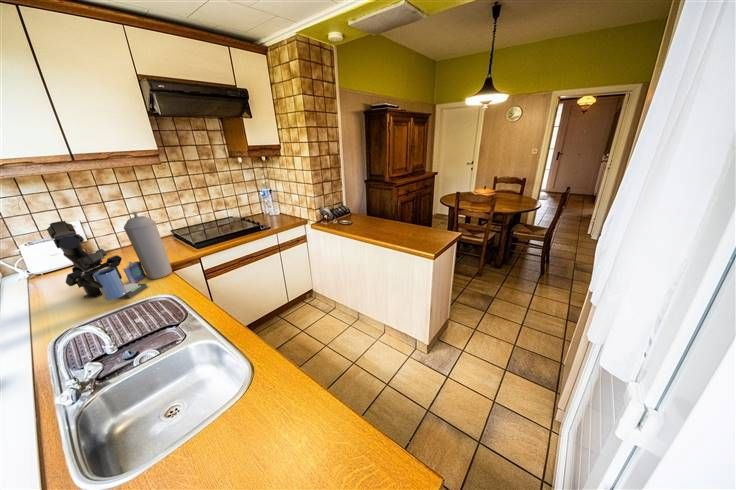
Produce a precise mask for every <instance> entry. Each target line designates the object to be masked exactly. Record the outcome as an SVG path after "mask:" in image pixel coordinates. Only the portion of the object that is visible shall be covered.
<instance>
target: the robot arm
mask: <svg viewBox="0 0 736 490" xmlns="http://www.w3.org/2000/svg"><path fill="white" fill-rule="evenodd" d="M46 231H47V233H48V235H49V237H50V238H51V240H52V241H53V243H54V245H55V246H56V248H57V249H60V250H61V251H62V252H63V254H62V255H63V256H64V257H65V258H66V259H67V260H69V261H70V262H72V264H73V265H74V266H73V267H72V269H71V271H72V272H70V273H68V274H67V275H66V277H65V283H66V285H68V286H69V287H73V286H75V285H77V287H78V288H79V289H80V288H83V290H84V292H85V295H83V298H97V297H98V296H100V295H103V294H102V292H101V290H100V289H99V288H103V286H102V285H101V284H99V283H98V282H97V281H95V279H94V277H93V276H92V275H93V274H94V273H95V272H97V271H100V270H102V269H106V268H115V269H116V271H117V273H118V275H119V277H120V279H121V280H122V279H123V276H122V275H121V273H120V270H119V269H118V268H119V266H120V264H121V262H122V259H123V258H122V257H121V256H120V255H119V254H117V255H112V256H110V257H107V258H106V256H107V255H108V253H107V252H106V251H105V250H104V249H103V248H100V249H97V250H95V252H93V253H88V252H87V251H85V250H84V247H83V245H82V243H84V241H85V239H84V237H83V235H80V234H79V233H78V234H77V232H76V229H75V227H74V226H73V224H72V223H68V222H66V220H60V221H54V222H51V223H49V226H48V227H46ZM105 258H106V261H105V262H103V259H105Z"/></svg>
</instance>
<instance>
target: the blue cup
mask: <svg viewBox="0 0 736 490" xmlns="http://www.w3.org/2000/svg"><path fill="white" fill-rule="evenodd" d="M92 276H93V277H94V279H95V281H97V282H98V283H99V284H101V285H102V286H103V288H99V289H100V290H101V292H102V294H101V295H102V297H103V298H104V299H105V300H106V301H112V300H116V299H120V298H119V297H122V296H123V295H125V294H126V293H127V292H126V289H125V287H124V285H125V284H124V283H123V281H122V279H120V277H119V275H118V273H117V271H116V269H115V268H107V267H106V268H103V269H101V270H99V271H97V272H95V273H94V274H93V275H92Z"/></svg>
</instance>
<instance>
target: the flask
mask: <svg viewBox="0 0 736 490" xmlns="http://www.w3.org/2000/svg"><path fill="white" fill-rule="evenodd" d="M127 264H128V265H127V266H125V267H124V268H123V272H124V274H125V276H126V278H127V280H128V282H129V283H128V284H131V283H138V282H140V281H141V280H142V279H144V278H146V277H147V275H146V273H145V271H144V269H143V267H142V265H141V263H140V261H139V260H135V261H134V262H132V261H127Z"/></svg>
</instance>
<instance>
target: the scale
mask: <svg viewBox="0 0 736 490" xmlns="http://www.w3.org/2000/svg"><path fill="white" fill-rule="evenodd" d="M123 285H124V287H125V289H126V292H127V293H126V294H125V295H123V296H122V297H119V298H118V299H132V298H134V297H135V296H137V295H138V294H139V293H141V292H143V291H145V290H146V289H147V288H148V285H147V283H138V282H136V283H131V284H130V283H125V284H123Z"/></svg>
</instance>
